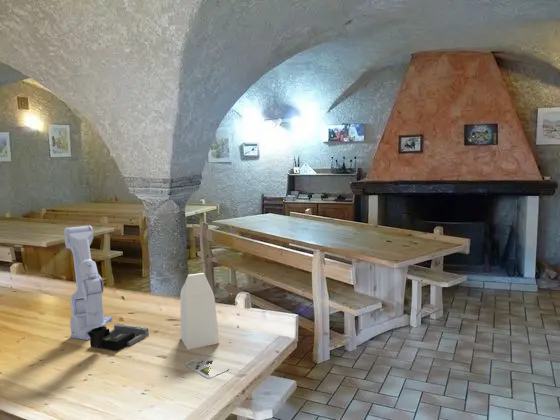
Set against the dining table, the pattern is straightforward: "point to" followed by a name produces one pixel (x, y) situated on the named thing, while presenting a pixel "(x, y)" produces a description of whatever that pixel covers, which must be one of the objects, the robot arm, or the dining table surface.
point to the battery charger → (115, 340)
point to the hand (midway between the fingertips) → (97, 347)
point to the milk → (198, 313)
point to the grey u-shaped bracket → (138, 331)
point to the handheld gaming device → (200, 365)
